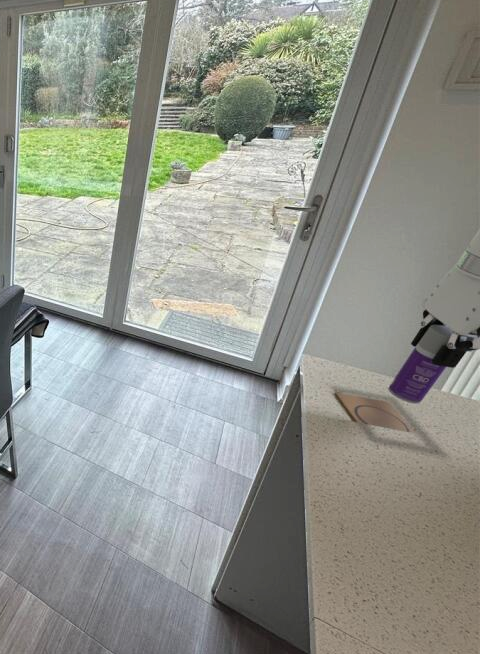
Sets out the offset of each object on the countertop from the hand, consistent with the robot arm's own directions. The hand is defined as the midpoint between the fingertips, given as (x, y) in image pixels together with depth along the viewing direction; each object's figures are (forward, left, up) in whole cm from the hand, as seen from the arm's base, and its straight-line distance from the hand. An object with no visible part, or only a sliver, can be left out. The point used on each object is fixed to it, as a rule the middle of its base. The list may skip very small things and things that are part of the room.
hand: (432, 354), depth 75 cm
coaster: (0, -1, -18) cm, 18 cm away
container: (0, 0, -10) cm, 10 cm away
